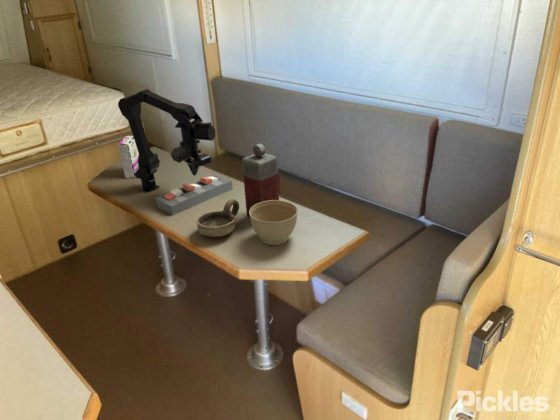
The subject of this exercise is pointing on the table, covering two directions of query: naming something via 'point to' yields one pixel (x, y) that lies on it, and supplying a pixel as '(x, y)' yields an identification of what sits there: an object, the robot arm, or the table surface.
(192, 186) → the block
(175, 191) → the rocker
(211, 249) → the table surface
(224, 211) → the bowl
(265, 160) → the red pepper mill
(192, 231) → the table surface
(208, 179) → the rocker
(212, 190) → the power board
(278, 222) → the planter bowl
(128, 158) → the candy bar box
